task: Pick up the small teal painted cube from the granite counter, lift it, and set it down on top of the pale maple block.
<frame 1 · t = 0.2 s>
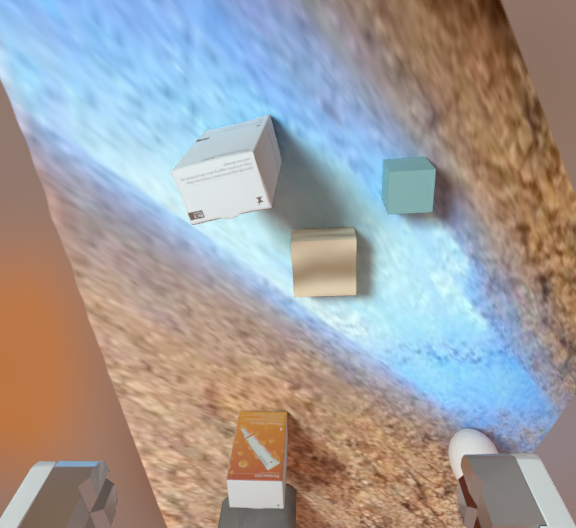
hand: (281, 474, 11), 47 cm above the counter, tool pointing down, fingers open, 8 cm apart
skincare box: (243, 146, 55), on the counter
flask: (257, 495, 86), on the counter
teal cube: (403, 178, 56), on the counter
maple block: (323, 254, 61), on the counter
egg: (464, 431, 76), on the counter
small box: (263, 422, 77), on the counter
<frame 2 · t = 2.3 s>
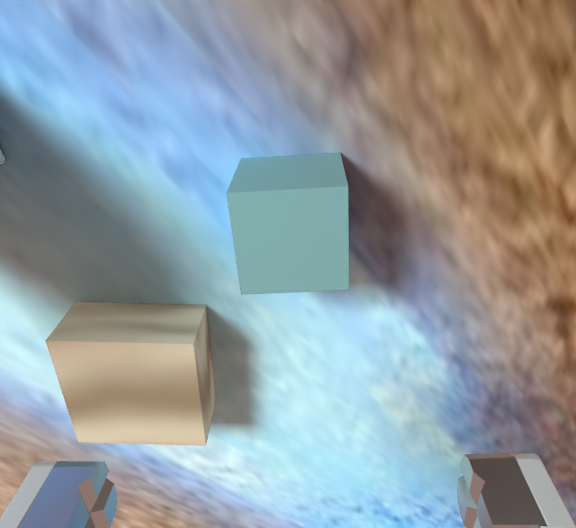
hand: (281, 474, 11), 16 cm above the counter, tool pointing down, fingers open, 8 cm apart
teal cube: (293, 201, 24), on the counter
maple block: (151, 351, 30), on the counter
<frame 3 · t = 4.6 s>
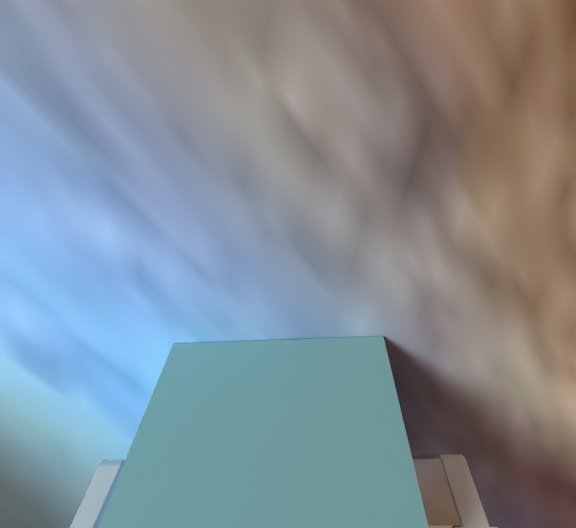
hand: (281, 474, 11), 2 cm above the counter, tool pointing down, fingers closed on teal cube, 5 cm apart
teal cube: (284, 416, 12), on the counter, touching gripper
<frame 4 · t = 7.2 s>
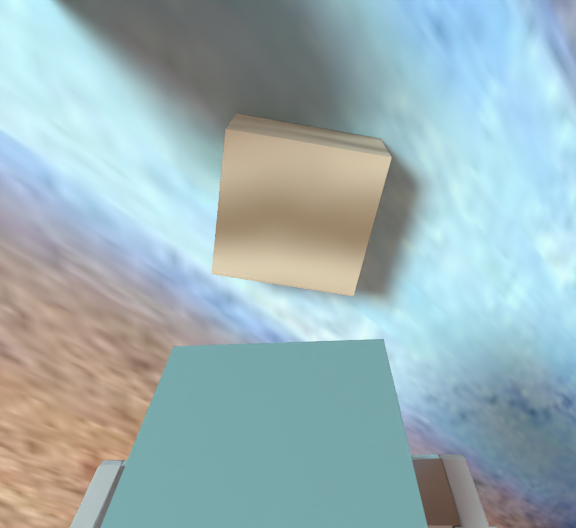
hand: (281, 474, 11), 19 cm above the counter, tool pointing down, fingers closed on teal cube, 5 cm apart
teal cube: (284, 418, 12), point 17 cm above the counter, touching gripper
maple block: (296, 193, 27), on the counter
when the fingers open (7 cm above the counter, at t = 10.0 s): teal cube drops 2 cm, resting on maple block.
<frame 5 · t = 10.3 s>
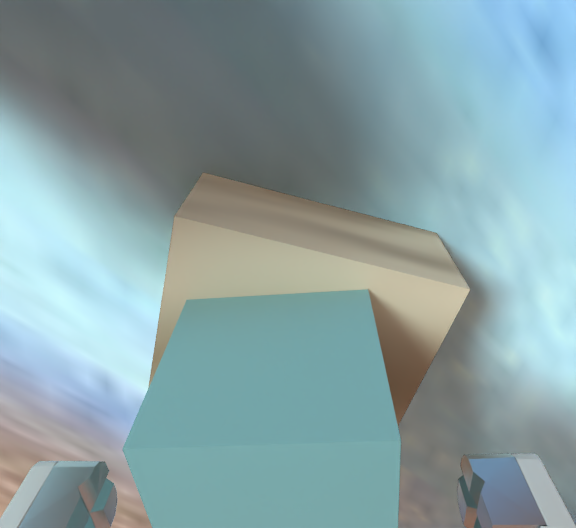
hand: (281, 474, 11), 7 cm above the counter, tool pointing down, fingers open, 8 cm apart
teal cube: (284, 365, 14), point 4 cm above the counter, touching maple block
maple block: (291, 296, 17), on the counter, touching teal cube
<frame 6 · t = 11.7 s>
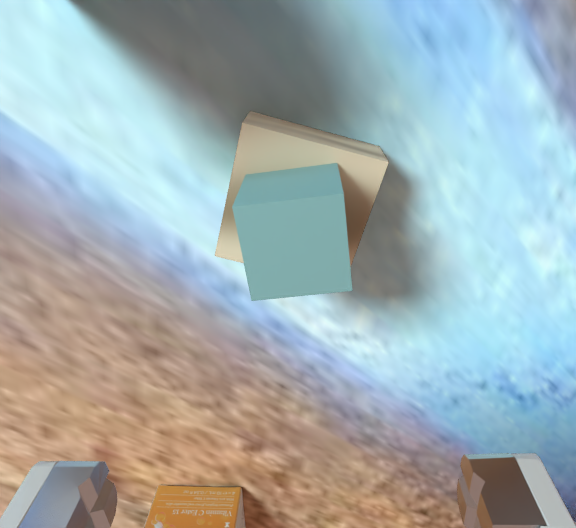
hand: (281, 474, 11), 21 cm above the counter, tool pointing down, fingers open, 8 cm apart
teal cube: (296, 211, 26), point 4 cm above the counter, touching maple block
maple block: (298, 189, 29), on the counter, touching teal cube
small box: (203, 503, 44), on the counter
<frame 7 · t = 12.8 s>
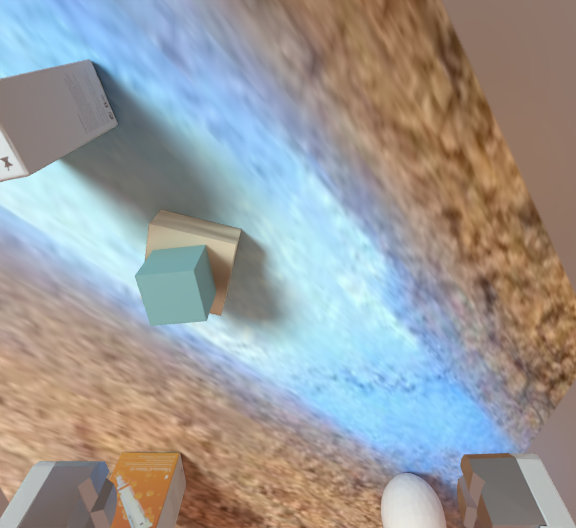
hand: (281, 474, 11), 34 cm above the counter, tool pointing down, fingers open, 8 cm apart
skincare box: (65, 107, 41), on the counter
teal cube: (185, 271, 43), point 4 cm above the counter, touching maple block
maple block: (195, 253, 47), on the counter, touching teal cube
egg: (404, 476, 60), on the counter
small box: (155, 466, 62), on the counter
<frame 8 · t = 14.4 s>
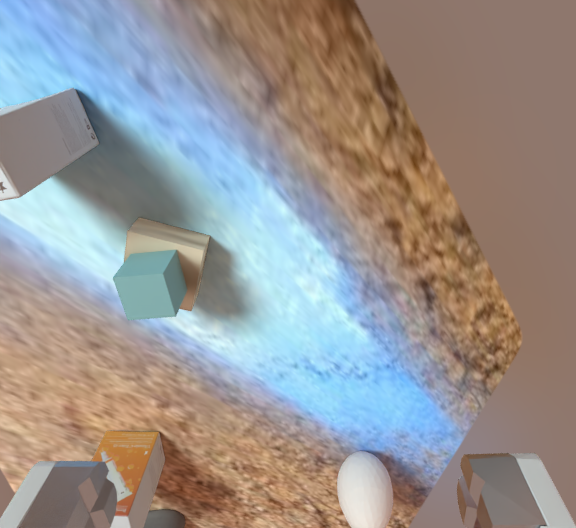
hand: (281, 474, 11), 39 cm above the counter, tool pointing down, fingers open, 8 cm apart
skincare box: (53, 127, 46), on the counter
flask: (144, 522, 77), on the counter
teal cube: (159, 272, 49), point 4 cm above the counter, touching maple block
maple block: (170, 255, 53), on the counter, touching teal cube
egg: (360, 454, 67), on the counter
small box: (136, 443, 68), on the counter
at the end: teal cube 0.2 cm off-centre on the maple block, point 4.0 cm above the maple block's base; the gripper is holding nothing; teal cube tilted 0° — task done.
